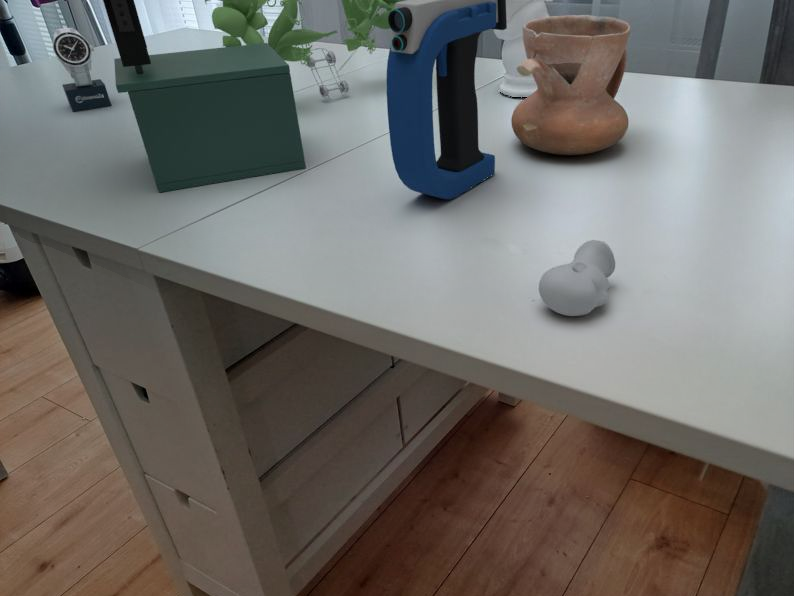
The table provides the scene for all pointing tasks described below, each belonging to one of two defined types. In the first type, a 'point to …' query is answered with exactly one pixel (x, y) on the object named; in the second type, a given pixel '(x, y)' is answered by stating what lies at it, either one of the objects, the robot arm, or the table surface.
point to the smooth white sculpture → (579, 280)
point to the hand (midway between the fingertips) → (135, 56)
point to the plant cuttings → (299, 30)
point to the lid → (200, 67)
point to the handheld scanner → (438, 92)
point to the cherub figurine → (518, 45)
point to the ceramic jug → (573, 84)
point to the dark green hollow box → (219, 130)
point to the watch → (79, 71)
